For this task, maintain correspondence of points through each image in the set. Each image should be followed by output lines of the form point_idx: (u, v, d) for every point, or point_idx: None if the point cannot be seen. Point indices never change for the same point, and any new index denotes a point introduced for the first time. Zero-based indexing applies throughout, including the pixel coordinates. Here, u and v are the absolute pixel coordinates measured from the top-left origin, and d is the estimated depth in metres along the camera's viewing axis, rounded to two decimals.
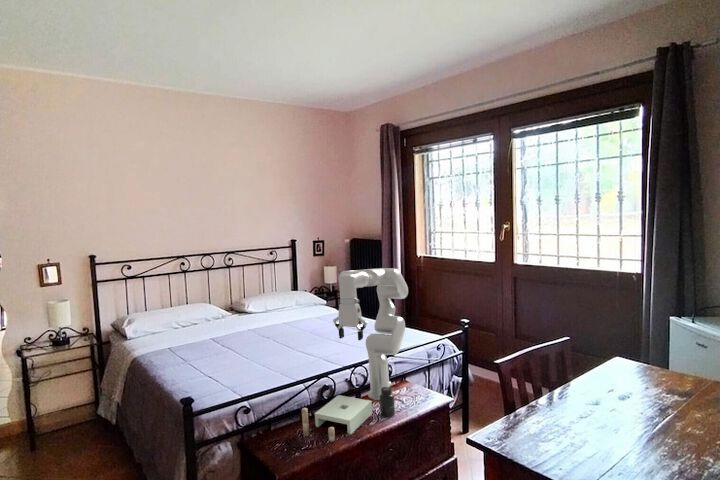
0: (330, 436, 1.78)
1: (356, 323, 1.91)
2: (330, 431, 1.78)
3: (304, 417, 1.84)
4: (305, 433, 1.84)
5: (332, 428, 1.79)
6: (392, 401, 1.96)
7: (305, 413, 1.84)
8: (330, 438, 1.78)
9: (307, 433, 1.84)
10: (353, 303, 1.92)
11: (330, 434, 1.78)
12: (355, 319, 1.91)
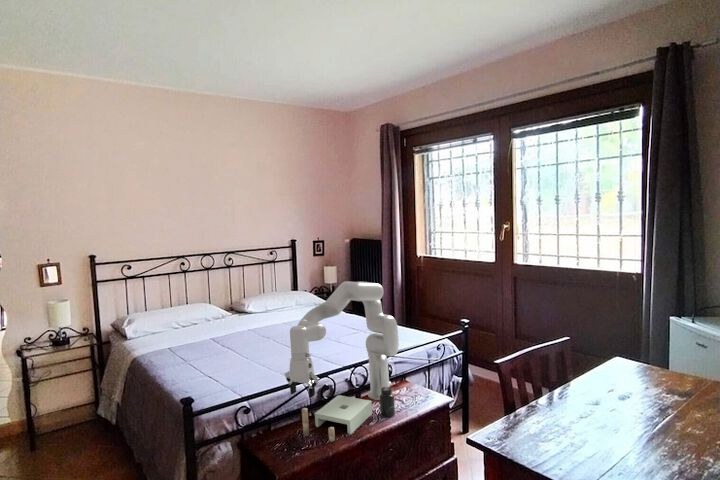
0: (330, 436, 1.78)
1: (307, 380, 1.80)
2: (330, 431, 1.78)
3: (304, 417, 1.84)
4: (305, 433, 1.84)
5: (332, 428, 1.79)
6: (392, 401, 1.96)
7: (305, 413, 1.84)
8: (330, 438, 1.78)
9: (307, 433, 1.84)
10: (304, 358, 1.80)
11: (330, 434, 1.78)
12: (306, 375, 1.80)
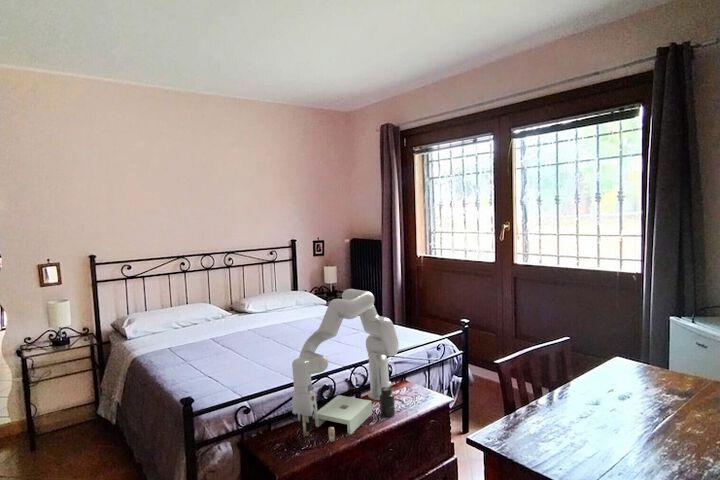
0: (330, 436, 1.78)
1: (310, 412, 1.81)
2: (330, 431, 1.78)
3: (304, 417, 1.84)
4: (305, 433, 1.84)
5: (332, 428, 1.79)
6: (392, 401, 1.96)
7: None
8: (330, 438, 1.78)
9: (307, 433, 1.84)
10: (307, 391, 1.81)
11: (330, 434, 1.78)
12: (309, 408, 1.81)
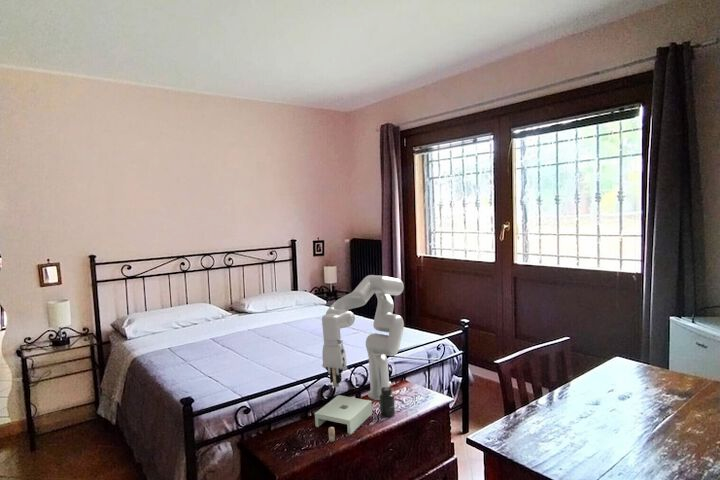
0: (330, 436, 1.78)
1: (340, 365, 1.89)
2: (330, 431, 1.78)
3: (334, 370, 1.91)
4: (335, 385, 1.92)
5: (332, 428, 1.79)
6: (392, 401, 1.96)
7: None
8: (330, 438, 1.78)
9: (337, 385, 1.92)
10: (336, 345, 1.89)
11: (330, 434, 1.78)
12: (339, 361, 1.88)
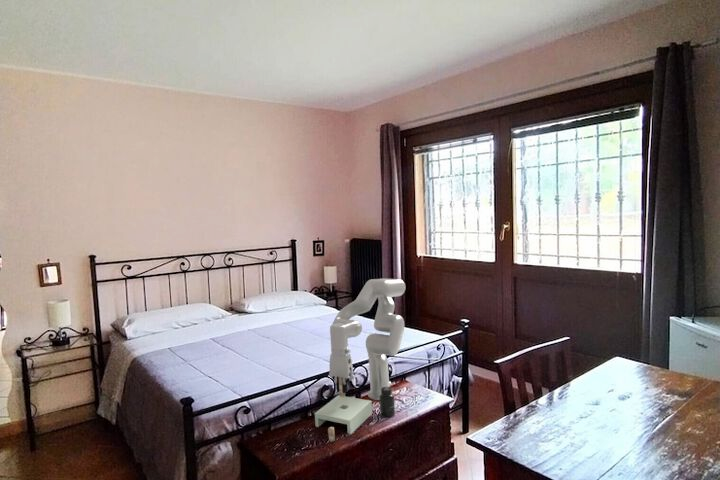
0: (330, 436, 1.78)
1: (347, 374, 1.90)
2: (330, 431, 1.78)
3: (341, 379, 1.93)
4: (341, 395, 1.94)
5: (332, 428, 1.79)
6: (392, 401, 1.96)
7: None
8: (330, 438, 1.78)
9: (343, 395, 1.94)
10: (344, 354, 1.91)
11: (330, 434, 1.78)
12: (346, 370, 1.90)
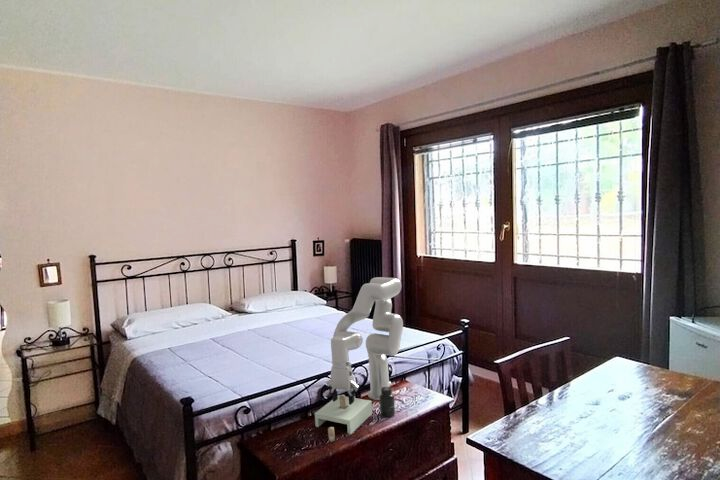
0: (330, 436, 1.78)
1: (348, 387, 1.91)
2: (330, 431, 1.78)
3: (342, 403, 1.95)
4: None
5: (332, 428, 1.79)
6: (392, 401, 1.96)
7: (343, 399, 1.95)
8: (330, 438, 1.78)
9: None
10: (345, 367, 1.91)
11: (330, 434, 1.78)
12: (347, 383, 1.91)
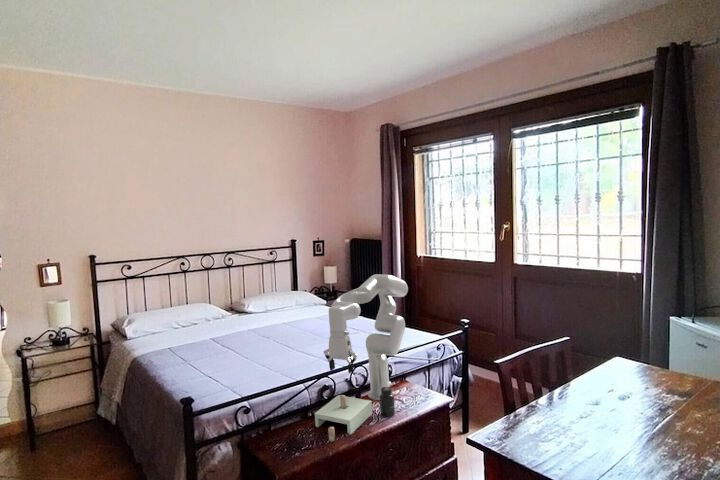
0: (330, 436, 1.78)
1: (346, 356, 1.90)
2: (330, 431, 1.78)
3: (342, 403, 1.94)
4: None
5: (332, 428, 1.79)
6: (392, 401, 1.96)
7: (343, 400, 1.94)
8: (330, 438, 1.78)
9: None
10: (343, 336, 1.90)
11: (330, 434, 1.78)
12: (345, 352, 1.90)
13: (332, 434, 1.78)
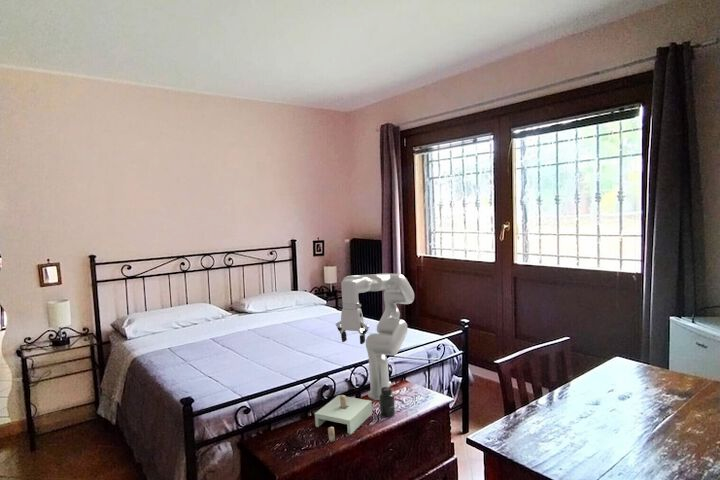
0: (329, 436, 1.78)
1: (358, 327, 1.96)
2: (329, 431, 1.78)
3: (342, 404, 1.94)
4: None
5: (332, 428, 1.79)
6: (392, 401, 1.96)
7: (343, 400, 1.94)
8: (330, 438, 1.78)
9: None
10: (355, 308, 1.96)
11: (329, 434, 1.78)
12: (357, 323, 1.96)
13: (332, 434, 1.78)
